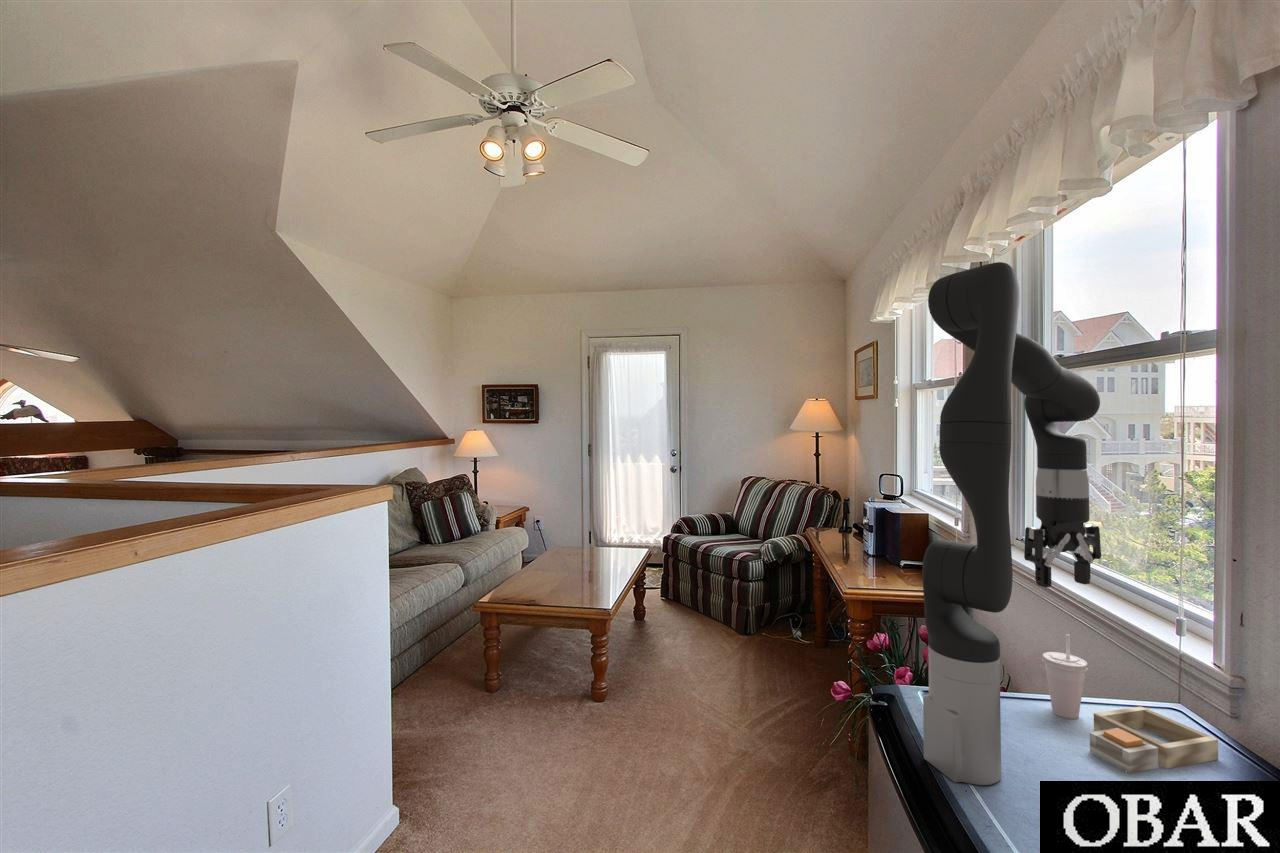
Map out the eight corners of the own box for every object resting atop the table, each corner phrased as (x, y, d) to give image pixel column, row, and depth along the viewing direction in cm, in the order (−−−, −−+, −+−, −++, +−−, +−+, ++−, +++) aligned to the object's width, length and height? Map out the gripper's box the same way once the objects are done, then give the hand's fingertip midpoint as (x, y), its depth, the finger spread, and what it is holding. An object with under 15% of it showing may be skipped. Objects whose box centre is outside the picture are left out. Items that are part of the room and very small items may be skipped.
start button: (1126, 758, 81) (1126, 742, 81) (1103, 746, 84) (1103, 731, 84) (1143, 755, 81) (1142, 739, 82) (1119, 744, 85) (1119, 728, 85)
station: (1132, 775, 79) (1132, 754, 79) (1062, 736, 89) (1062, 718, 89) (1218, 759, 83) (1218, 739, 83) (1141, 724, 93) (1141, 706, 93)
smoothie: (1097, 724, 93) (1096, 642, 93) (1054, 720, 94) (1053, 639, 94) (1075, 706, 99) (1074, 629, 99) (1035, 702, 100) (1034, 626, 100)
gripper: (1050, 497, 92) (1051, 593, 92) (1115, 495, 95) (1116, 588, 95) (1010, 493, 99) (1011, 581, 99) (1072, 490, 102) (1073, 577, 102)
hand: (1063, 584), depth 97 cm, fingers open, 8 cm apart
